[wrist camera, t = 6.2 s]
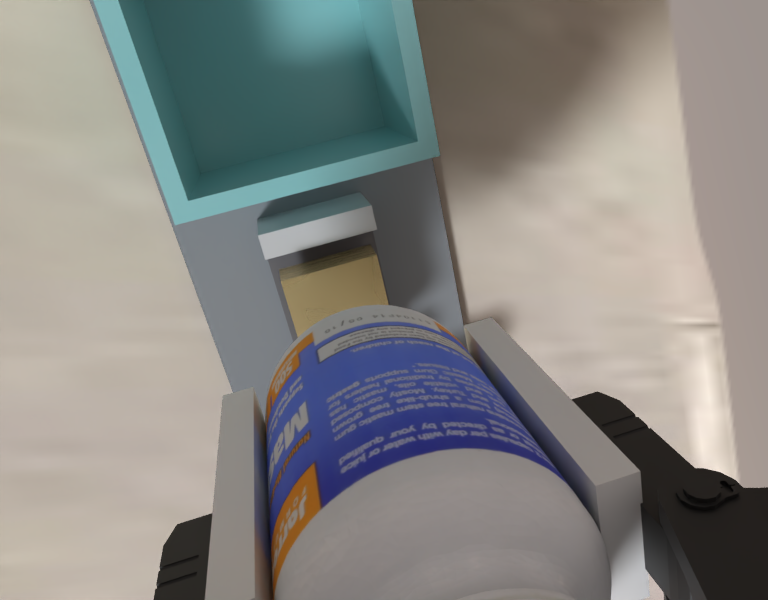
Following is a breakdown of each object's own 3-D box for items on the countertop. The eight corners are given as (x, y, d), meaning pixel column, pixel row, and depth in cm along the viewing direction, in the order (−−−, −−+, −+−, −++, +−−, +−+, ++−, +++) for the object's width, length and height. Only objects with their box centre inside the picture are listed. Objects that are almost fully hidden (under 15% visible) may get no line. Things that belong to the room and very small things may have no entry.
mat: (69, -63, 18) (65, -65, 17) (375, -127, 18) (378, -130, 18) (309, 597, 28) (310, 604, 27) (500, 534, 28) (503, 540, 28)
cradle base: (257, 219, 21) (257, 235, 19) (360, 192, 21) (371, 204, 19) (310, 394, 24) (316, 425, 22) (401, 367, 24) (415, 395, 22)
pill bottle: (244, 321, 15) (228, 717, 6) (464, 280, 15) (754, 575, 6) (286, 506, 17) (322, 1014, 8) (479, 462, 17) (715, 879, 8)
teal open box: (108, -53, 17) (58, -94, 13) (349, -104, 18) (382, -161, 14) (192, 188, 20) (175, 225, 16) (398, 136, 21) (440, 155, 16)
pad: (279, 269, 20) (280, 281, 19) (369, 244, 20) (376, 254, 19) (314, 386, 21) (318, 404, 20) (398, 362, 22) (406, 377, 21)
